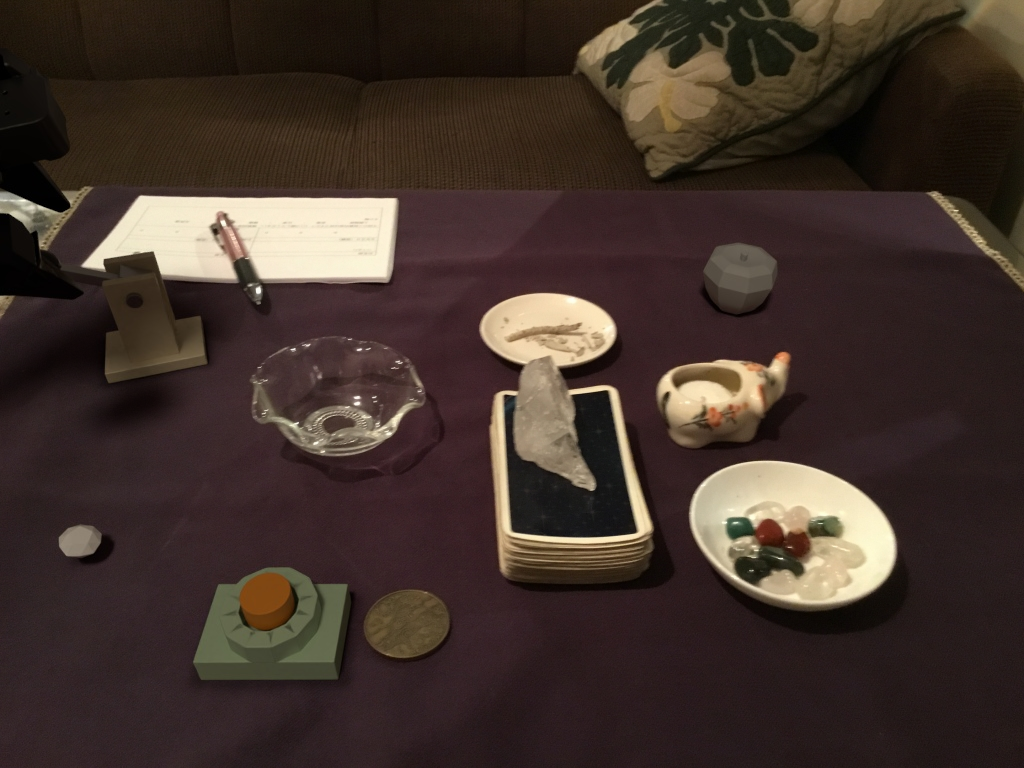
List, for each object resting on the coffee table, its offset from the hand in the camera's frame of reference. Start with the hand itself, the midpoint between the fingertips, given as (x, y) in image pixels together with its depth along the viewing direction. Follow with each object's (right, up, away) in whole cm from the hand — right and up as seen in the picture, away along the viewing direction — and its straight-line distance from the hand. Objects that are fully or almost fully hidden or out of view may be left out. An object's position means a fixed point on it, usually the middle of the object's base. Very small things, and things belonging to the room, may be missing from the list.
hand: (72, 250), depth 61 cm
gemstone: (+2, -24, -2) cm, 24 cm away
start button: (+18, -25, -9) cm, 32 cm away
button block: (+18, -28, -7) cm, 34 cm away
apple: (+58, -2, +26) cm, 63 cm away
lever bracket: (-1, -7, +17) cm, 19 cm away
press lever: (-5, -2, +11) cm, 12 cm away
